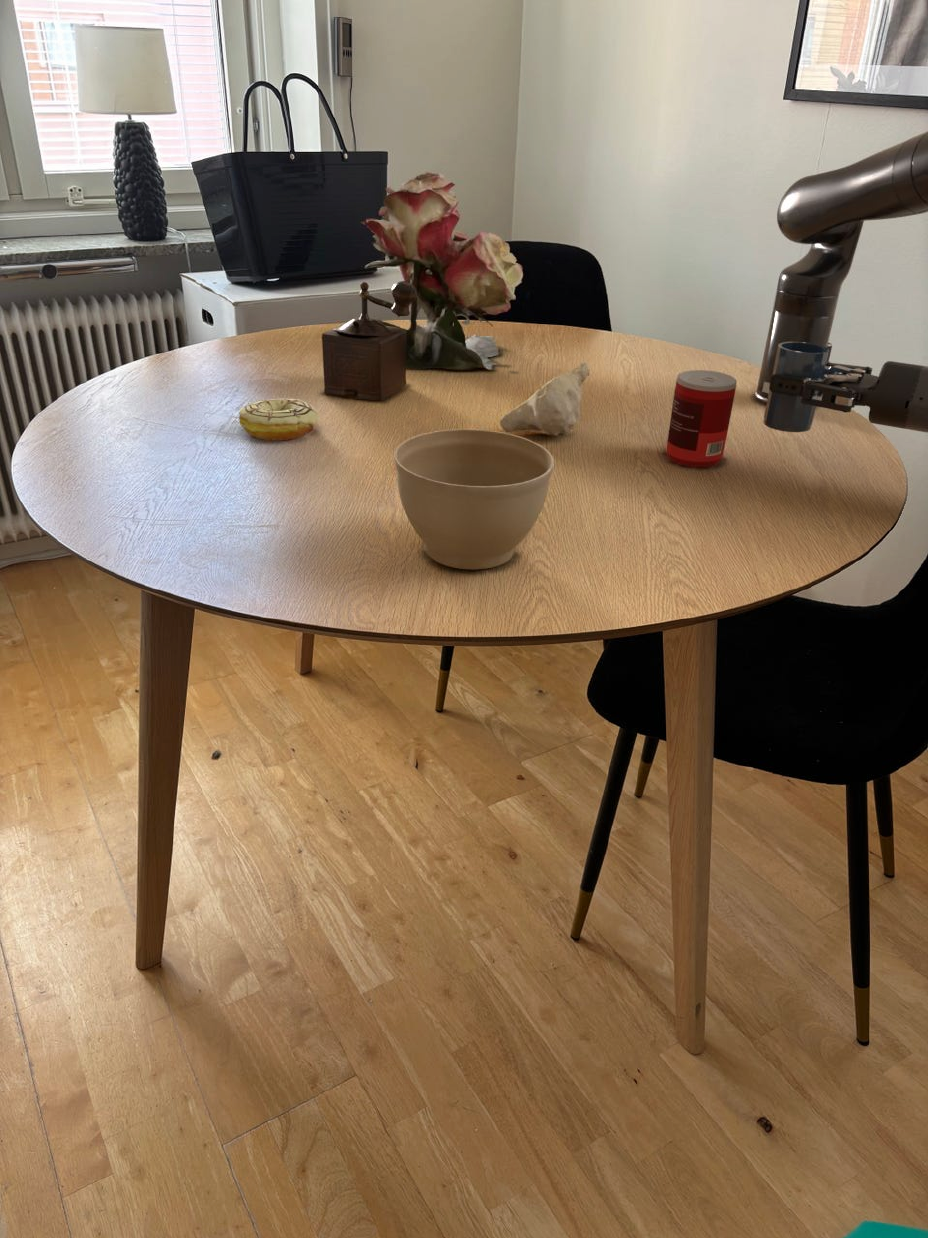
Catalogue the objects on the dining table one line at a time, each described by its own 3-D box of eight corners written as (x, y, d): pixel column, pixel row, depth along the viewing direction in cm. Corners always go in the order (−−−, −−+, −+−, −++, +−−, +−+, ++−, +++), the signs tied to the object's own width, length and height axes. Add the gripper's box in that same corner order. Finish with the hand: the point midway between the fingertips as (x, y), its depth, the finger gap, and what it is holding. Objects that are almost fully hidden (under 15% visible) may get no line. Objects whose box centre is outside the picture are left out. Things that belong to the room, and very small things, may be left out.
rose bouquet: (519, 373, 157) (531, 182, 142) (351, 367, 157) (345, 176, 142) (514, 338, 179) (524, 169, 164) (366, 333, 179) (363, 164, 164)
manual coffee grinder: (319, 395, 143) (314, 275, 134) (350, 377, 152) (347, 263, 143) (410, 408, 139) (410, 285, 130) (436, 389, 148) (438, 273, 139)
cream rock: (526, 464, 125) (615, 396, 122) (494, 421, 124) (583, 351, 121) (530, 459, 140) (610, 398, 137) (502, 421, 139) (582, 359, 136)
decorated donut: (333, 433, 128) (332, 407, 126) (266, 449, 121) (264, 421, 119) (292, 414, 134) (291, 389, 132) (227, 428, 128) (225, 402, 126)
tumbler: (790, 416, 122) (806, 340, 117) (821, 429, 117) (839, 351, 112) (753, 420, 120) (768, 343, 115) (783, 434, 115) (800, 354, 110)
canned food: (724, 452, 126) (739, 373, 120) (719, 471, 119) (734, 389, 114) (669, 444, 128) (681, 366, 122) (661, 463, 121) (673, 381, 116)
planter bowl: (428, 599, 87) (429, 494, 82) (374, 532, 100) (372, 437, 95) (573, 572, 93) (583, 473, 88) (505, 512, 106) (510, 421, 100)
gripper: (932, 354, 113) (795, 335, 120) (919, 380, 102) (769, 358, 109) (916, 413, 116) (784, 391, 123) (901, 444, 106) (757, 419, 113)
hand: (777, 376), depth 116 cm, fingers closed on tumbler, 6 cm apart
